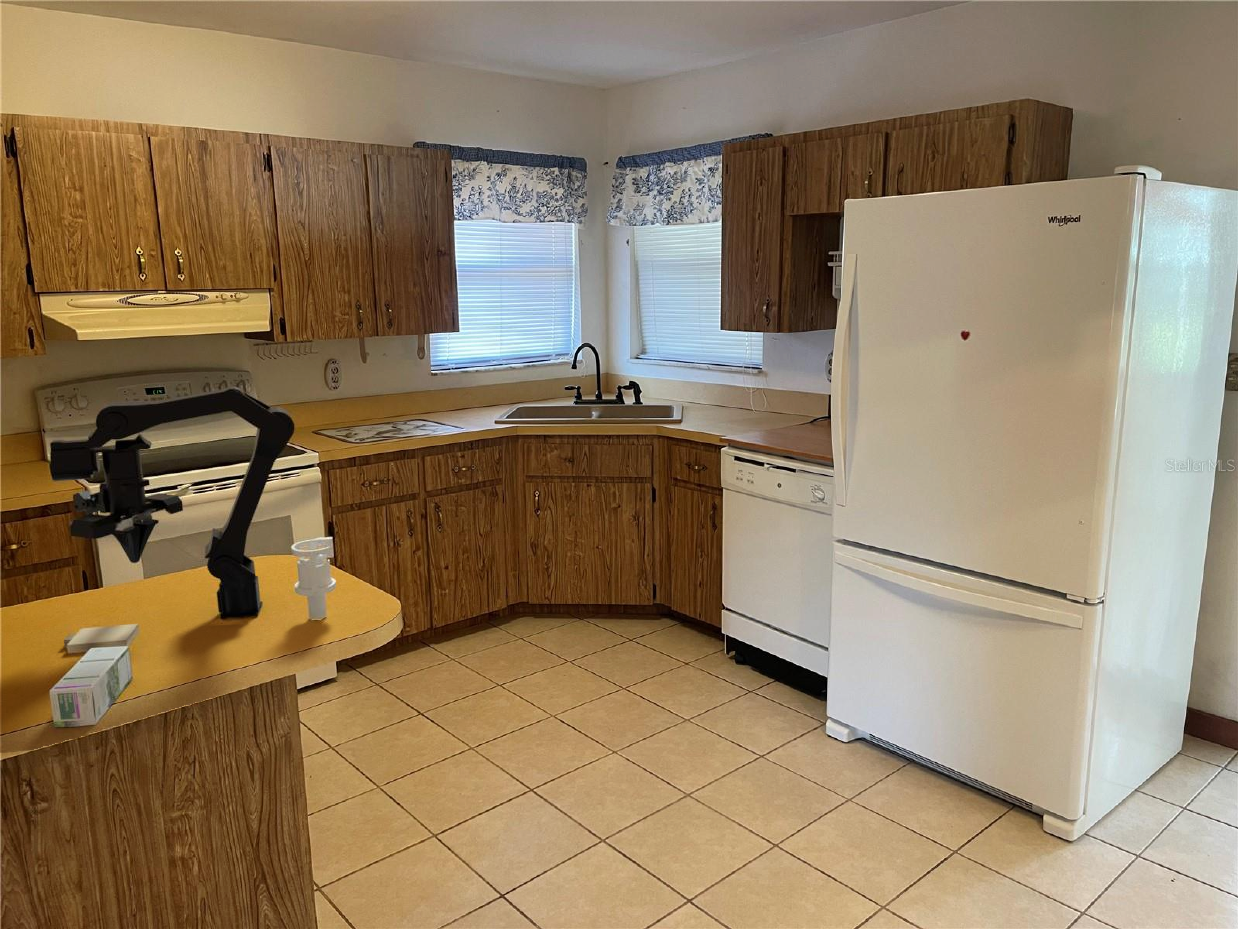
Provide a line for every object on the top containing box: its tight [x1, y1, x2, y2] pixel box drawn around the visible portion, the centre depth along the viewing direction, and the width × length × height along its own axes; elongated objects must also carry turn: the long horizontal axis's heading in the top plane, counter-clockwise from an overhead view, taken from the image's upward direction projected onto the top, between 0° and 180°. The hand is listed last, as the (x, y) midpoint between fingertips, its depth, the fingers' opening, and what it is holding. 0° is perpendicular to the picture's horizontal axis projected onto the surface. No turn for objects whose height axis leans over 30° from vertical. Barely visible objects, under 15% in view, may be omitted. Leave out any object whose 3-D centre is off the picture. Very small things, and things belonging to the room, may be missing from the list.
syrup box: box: [49, 646, 134, 728], centre depth 131 cm, size 6×6×14 cm
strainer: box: [290, 536, 337, 620], centre depth 161 cm, size 7×7×15 cm
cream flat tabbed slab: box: [63, 623, 140, 654], centre depth 152 cm, size 10×7×2 cm
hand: (134, 562), depth 156 cm, fingers closed
